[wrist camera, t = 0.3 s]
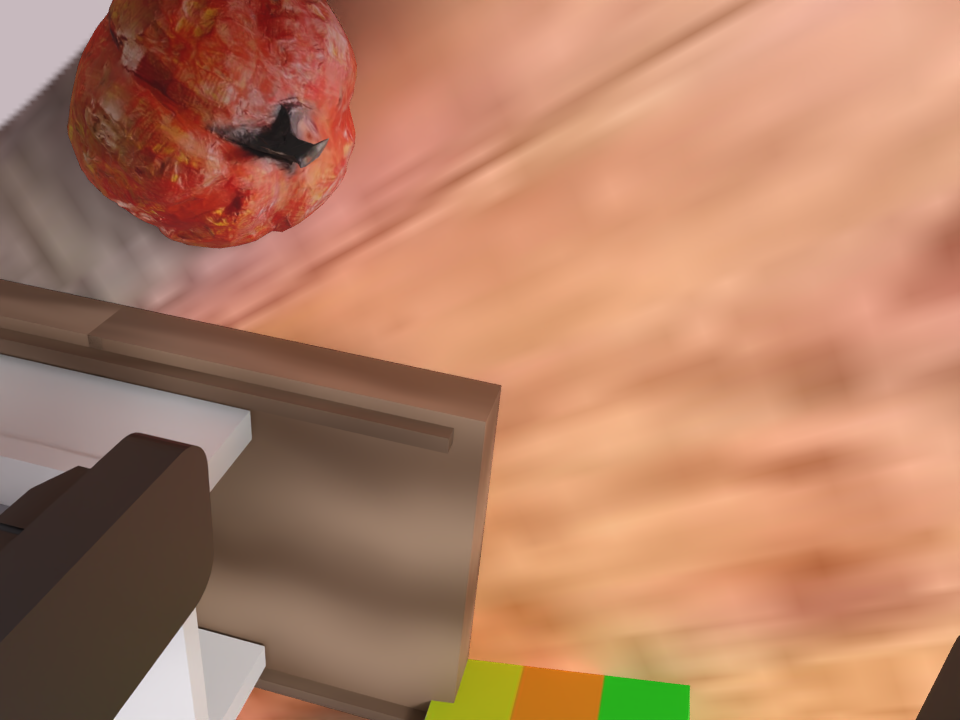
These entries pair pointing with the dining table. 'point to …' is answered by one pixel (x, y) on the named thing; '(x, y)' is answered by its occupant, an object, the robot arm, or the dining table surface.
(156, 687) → the cover
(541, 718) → the puzzle toy
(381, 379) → the brown flat frame
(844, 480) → the dining table surface
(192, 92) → the pomegranate
